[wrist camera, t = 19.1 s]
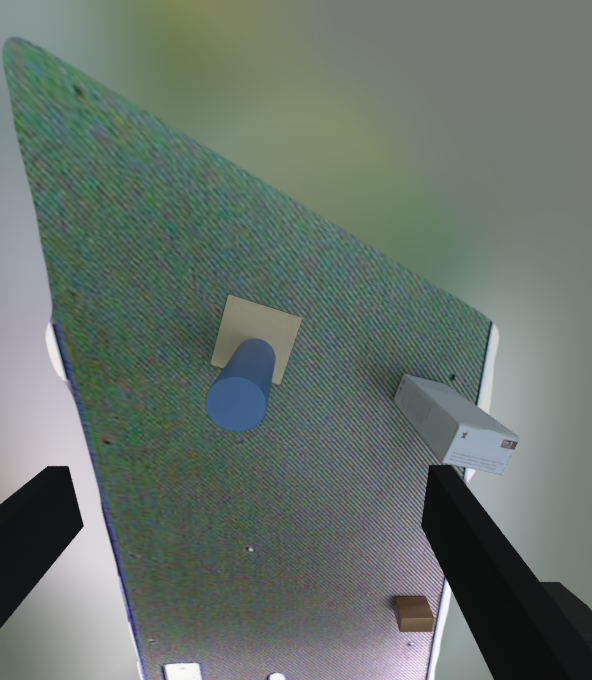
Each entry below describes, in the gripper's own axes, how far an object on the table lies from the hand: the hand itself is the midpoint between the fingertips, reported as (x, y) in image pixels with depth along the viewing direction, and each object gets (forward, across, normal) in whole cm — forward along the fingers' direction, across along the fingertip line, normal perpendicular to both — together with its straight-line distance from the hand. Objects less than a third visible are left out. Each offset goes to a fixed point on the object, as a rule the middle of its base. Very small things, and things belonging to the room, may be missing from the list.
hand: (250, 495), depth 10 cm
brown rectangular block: (+25, +20, -45) cm, 55 cm away
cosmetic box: (+25, +18, -8) cm, 31 cm away
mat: (+25, -3, -1) cm, 25 cm away
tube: (+18, -5, -1) cm, 19 cm away
